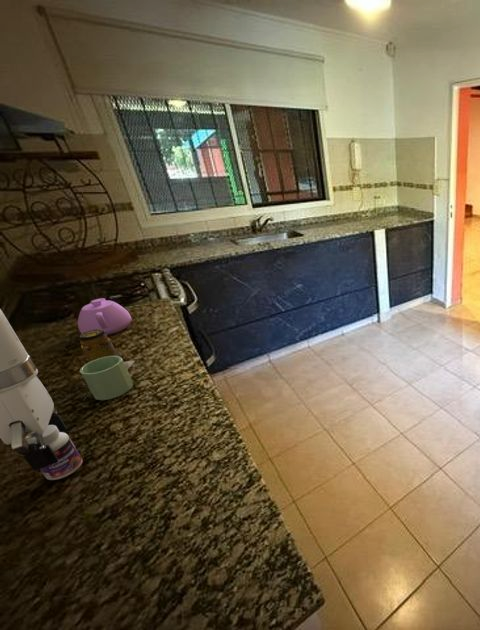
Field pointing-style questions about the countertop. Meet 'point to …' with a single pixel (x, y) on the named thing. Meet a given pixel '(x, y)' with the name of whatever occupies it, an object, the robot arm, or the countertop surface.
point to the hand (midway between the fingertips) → (52, 448)
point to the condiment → (98, 346)
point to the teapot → (103, 317)
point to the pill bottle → (59, 453)
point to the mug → (106, 377)
